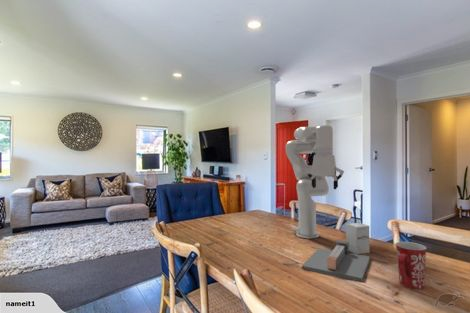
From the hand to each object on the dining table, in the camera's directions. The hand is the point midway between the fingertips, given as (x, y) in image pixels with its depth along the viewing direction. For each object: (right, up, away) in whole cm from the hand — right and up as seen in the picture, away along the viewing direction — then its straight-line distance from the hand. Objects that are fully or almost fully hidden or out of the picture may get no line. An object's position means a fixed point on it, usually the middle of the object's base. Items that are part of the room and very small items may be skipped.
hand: (324, 188), depth 127 cm
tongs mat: (0, -30, -15) cm, 33 cm away
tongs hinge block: (+6, -28, -6) cm, 30 cm away
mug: (+18, -30, -34) cm, 49 cm away
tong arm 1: (-1, -28, -16) cm, 32 cm away
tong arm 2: (0, -28, -17) cm, 33 cm away
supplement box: (+15, -30, -1) cm, 33 cm away
